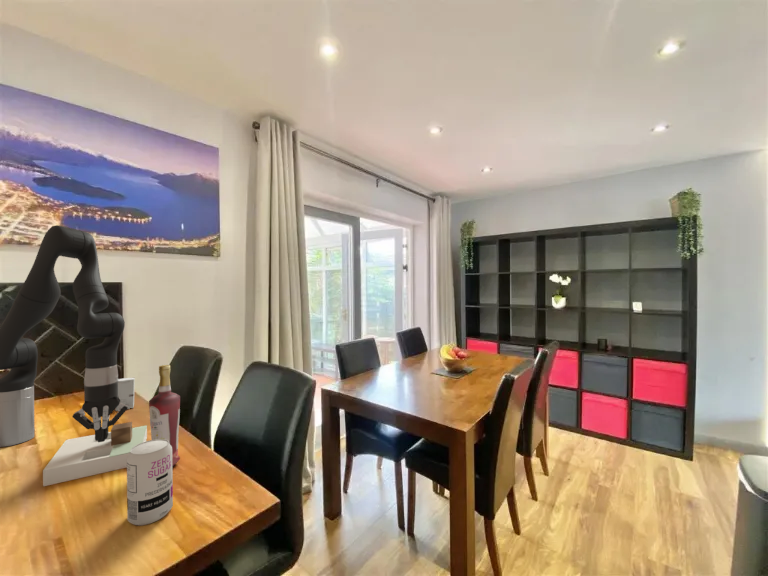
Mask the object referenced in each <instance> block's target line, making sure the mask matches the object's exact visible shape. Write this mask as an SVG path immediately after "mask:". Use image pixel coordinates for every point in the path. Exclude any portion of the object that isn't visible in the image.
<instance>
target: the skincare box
mask: <svg viewBox="0 0 768 576" xmlns="http://www.w3.org/2000/svg"><path fill="white" fill-rule="evenodd" d="M118 398H119V399H120V403H123V404H128V405H129V406H128V409H127V410H131V409H130V408H132V409H134V406H135V377H123V378H118ZM114 411H115V412H119V411H118V406H117V407H116V409H115V410H114Z"/></svg>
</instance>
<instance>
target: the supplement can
mask: <svg viewBox="0 0 768 576" xmlns="http://www.w3.org/2000/svg"><path fill="white" fill-rule="evenodd" d="M173 474H174V473H173V467H172V446H171V445H170V443H169V441H168V440H166V439H155V440H152V439H151V440H150V439H149V440H146V442H143V443H140V444H138V445H136V446H134V447H133V448H132V449H131V451H130V453H129V455H128V457H127V467H126V505H127V506H126V508H127V509H126V511H127V512H126V513H127V515H126V517H127V522H129V523H130V524H132V525H134V526H146V525H150V524H153V523H155V522H157V521H159V520H160V519H162V518H164V517H165V516H166V515H167V514H168V513H169V512H170V511H171V510H172V508H173V507H174V506H173V505H174V504H173V503H174V501H173V500H174V498H173V497H174V496H173V495H174V494H173V493H174V491H173V489H174V487H173V484H174V483H173Z"/></svg>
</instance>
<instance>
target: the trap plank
mask: <svg viewBox="0 0 768 576" xmlns="http://www.w3.org/2000/svg"><path fill="white" fill-rule="evenodd" d="M147 439H148V425H140V426H136V427H132V439H131V442H128V443H123V444H118V445H113V446H111V431H108V437H107V439H105V441H103V442H98V440H97V441H96V440H95V434H92V435H91V434H90V435H86V436H85V435H84V436H79V437H73V438H69V439H65V441H64V442H63V444H61V446H60V447H59V449H58V450H57V451H56V453H55V454H53V455H54V456H52V458H51V459H50V461H49V462H48V464H46V466H45V467H44V469H43V470H42V486H43V487H47V486H50V485H51V486H52V485H56V484H60V483H64V482H68V481H73V480H77V479H82V478H85V477H90V476H94V475H95V476H96V475H101V474H104V473H108V472H111V471H112V472H113V471H116V470H121V469H127V457H128V455H129V453H130V451H131V449H132V448H133V447H134V446H136V445H138V444H140V443H143V442H146V441H147Z"/></svg>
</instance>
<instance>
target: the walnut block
mask: <svg viewBox="0 0 768 576" xmlns="http://www.w3.org/2000/svg"><path fill="white" fill-rule="evenodd" d="M111 427H112V428H111V430H110V432H111V446H113V445H118V444H123V443H128V442H131V439H132V428H133V421H129V422H122V423H117V424H116V423H115V424H114V425H112V426H111Z"/></svg>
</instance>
